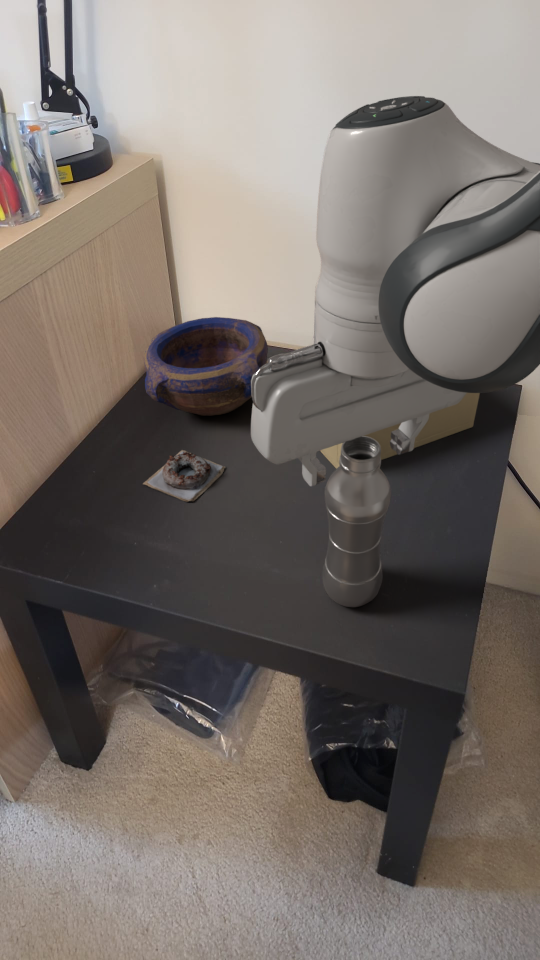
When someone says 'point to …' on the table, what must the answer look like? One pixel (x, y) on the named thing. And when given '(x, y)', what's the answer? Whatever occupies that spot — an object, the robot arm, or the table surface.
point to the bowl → (205, 364)
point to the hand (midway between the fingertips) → (358, 464)
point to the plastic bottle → (355, 523)
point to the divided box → (434, 429)
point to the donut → (185, 476)
